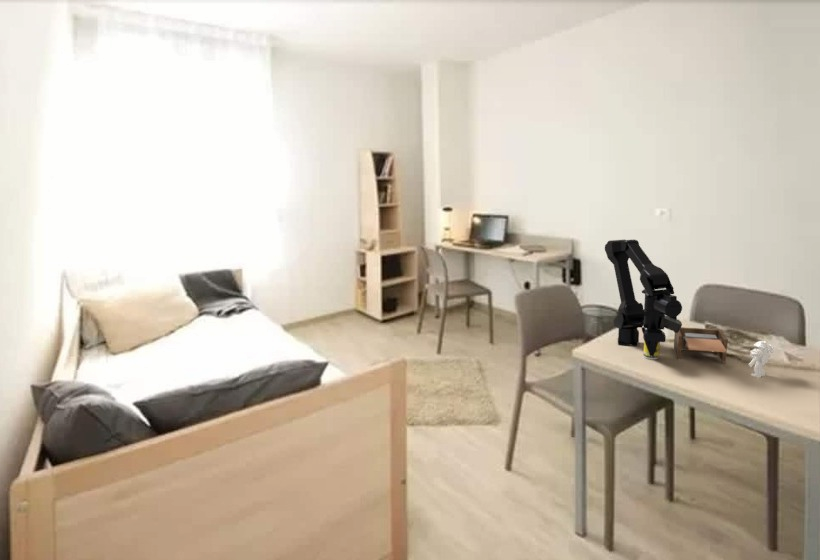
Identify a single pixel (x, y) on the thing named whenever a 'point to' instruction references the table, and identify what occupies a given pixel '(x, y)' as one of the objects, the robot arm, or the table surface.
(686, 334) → the flap
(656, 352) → the supplement bottle
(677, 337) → the stand
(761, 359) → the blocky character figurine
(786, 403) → the table surface
